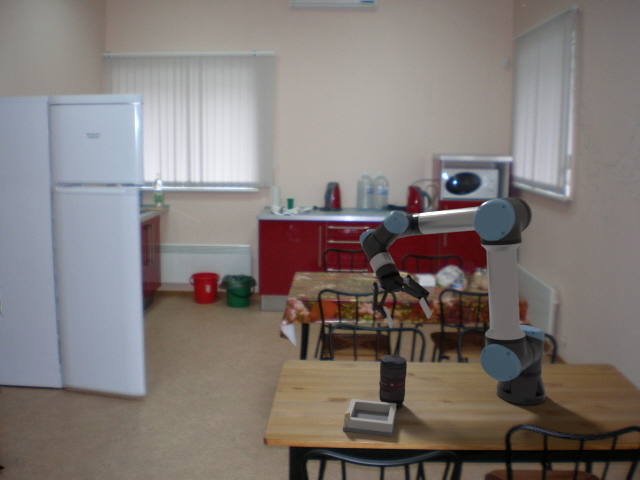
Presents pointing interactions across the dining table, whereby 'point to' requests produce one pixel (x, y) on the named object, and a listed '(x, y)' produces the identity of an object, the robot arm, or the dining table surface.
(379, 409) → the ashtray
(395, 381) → the camera lens
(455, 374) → the dining table surface
